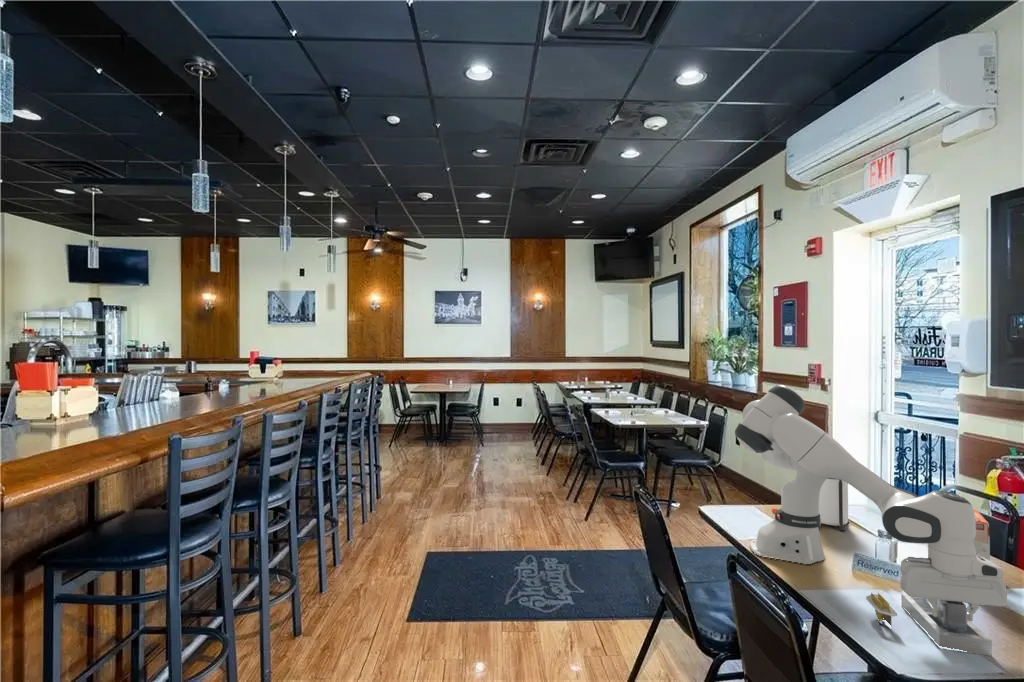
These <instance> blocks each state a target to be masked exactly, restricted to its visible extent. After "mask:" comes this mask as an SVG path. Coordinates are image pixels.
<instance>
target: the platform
mask: <svg viewBox="0 0 1024 682" xmlns="http://www.w3.org/2000/svg"><path fill="white" fill-rule="evenodd" d="M870 593H871V594H870V595H867V596H865V600H866V601H867V602H868V604H870V605H871V606H872V608H874V611H875V615H876V617H877V620H878V619H879V621H881V619H882V620H886V621H887V622H888V623H889V624H890V625H891V626H892V617H898V613H897V612H896V611H895V609H894V608H893V607H892V606H891V605H890V602H888V600H887V599H885V598H884V596H882V595H881V594H880V593H879V592H877V594H874V593H873V592H870ZM883 618H884V619H883ZM879 621H878V622H879Z"/></svg>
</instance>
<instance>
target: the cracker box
mask: <svg viewBox="0 0 1024 682" xmlns="http://www.w3.org/2000/svg"><path fill="white" fill-rule="evenodd" d="M973 509H974V514H975V523H976V536H975V539H974V547H975V550H976V555H978V556H981V557H984V558H986V559H988V560H989V536H990V524H989V522H988V521H987V520H986V518H984V516H983V515H982V514H981V513H980V512H979V511H978V509H975V508H973Z"/></svg>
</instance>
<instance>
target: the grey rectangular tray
mask: <svg viewBox="0 0 1024 682" xmlns="http://www.w3.org/2000/svg"><path fill="white" fill-rule="evenodd" d="M900 600H901V607H902V606H903V607H904V608H905V609H906V610H907V611H908V612H909V613H910V615H911V616H912V617H913V618H914V619H915V620H916V621H917V622H918V623H919V624H920V625H921V626H922V627H923V628H924V629H925V630H926V631H927V632H928V634H929V635H930V636H931V637H932V638H933V639H934V641H935V642H936V643H937V644H938V645H939V646H942V647H947V648H951V649H953V648H954V649H959V650H963V651H967V652H972V653H971V654H974V653H976V654H975V655H982V656H990V657H992V656H993V653H992V652H993V648H992V647H993V640H992V639H991V638H990V637H988V636H987V635H986V634H985V632H983V631H982V630H981V629H980V628H979V627H978V626H976V625H975V624H974V623H973V621H967V629H966V634H960V633H952V632H947V631H946V630H945V629H944V628H943V627H942V626H941V625H940V624H939V621H938V620H937V617H934V616H933V615H932V608H931V606H930V604H929V603H928V601H927V600H926V598H919V597H910V596H908V595H907V594H906V593H901V599H900ZM934 604H935V606H936V607H937V603H934ZM903 607H902V608H903ZM904 608H903V609H904ZM910 615H909V616H910ZM911 616H910V617H911ZM912 617H911V618H912Z"/></svg>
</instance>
